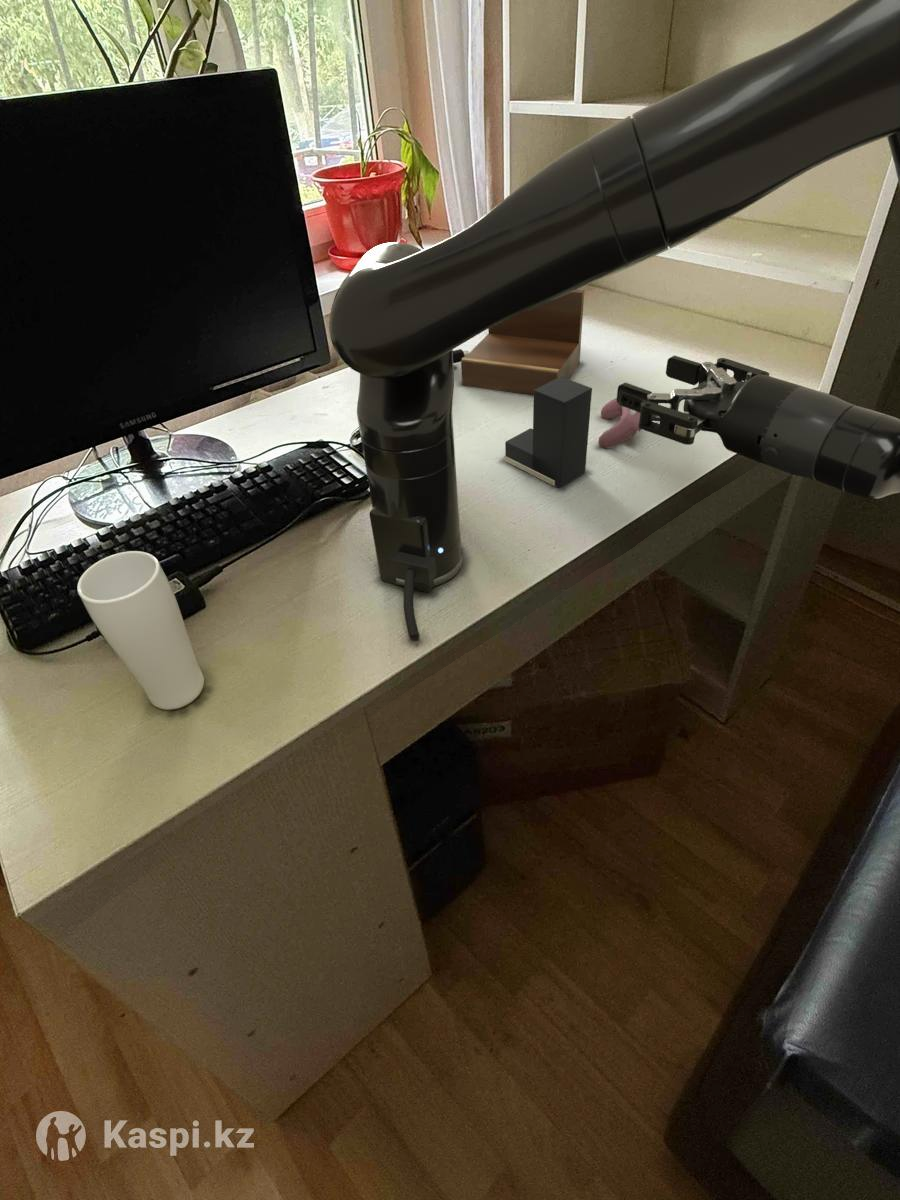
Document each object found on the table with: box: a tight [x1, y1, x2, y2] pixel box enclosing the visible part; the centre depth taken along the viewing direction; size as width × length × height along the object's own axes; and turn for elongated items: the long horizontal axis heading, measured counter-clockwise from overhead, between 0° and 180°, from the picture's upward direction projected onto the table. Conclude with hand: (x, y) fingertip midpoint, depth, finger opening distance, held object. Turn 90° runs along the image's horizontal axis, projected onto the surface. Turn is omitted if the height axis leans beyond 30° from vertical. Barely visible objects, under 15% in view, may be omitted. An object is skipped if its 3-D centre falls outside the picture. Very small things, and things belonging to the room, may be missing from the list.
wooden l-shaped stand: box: [460, 289, 585, 396], centre depth 110 cm, size 13×16×12 cm
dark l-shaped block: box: [503, 377, 593, 489], centre depth 88 cm, size 10×5×12 cm, turn 42°
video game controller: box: [598, 397, 643, 449], centre depth 96 cm, size 10×5×7 cm, turn 168°
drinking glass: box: [76, 550, 205, 711], centre depth 62 cm, size 7×7×15 cm
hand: (644, 378), depth 73 cm, fingers open, 8 cm apart
